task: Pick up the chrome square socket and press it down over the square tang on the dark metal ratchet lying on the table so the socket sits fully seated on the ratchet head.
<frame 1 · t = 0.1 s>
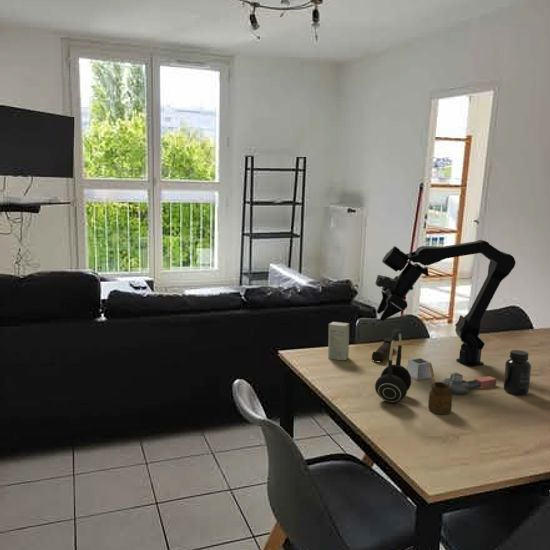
hand: (379, 316, 177), 15 cm above the table, tool tilted 35°, fingers open, 9 cm apart
socket: (418, 376, 164), on the table
supplement bottle: (515, 391, 153), on the table
ratchet: (455, 390, 153), on the table
utensil holder: (438, 410, 139), on the table
headphones: (392, 398, 146), on the table
skincare box: (337, 358, 179), on the table
hand tool: (382, 355, 184), on the table
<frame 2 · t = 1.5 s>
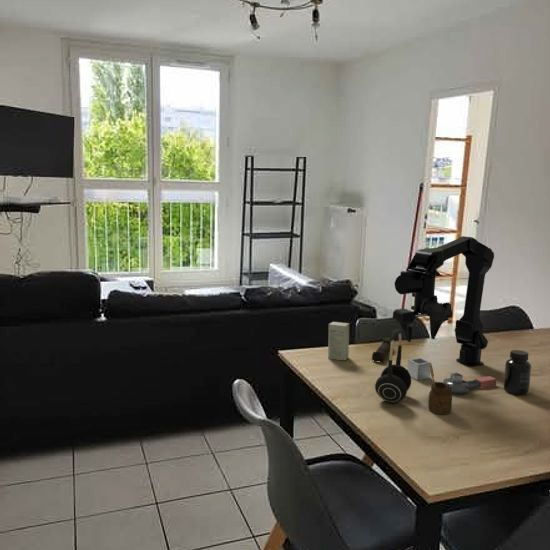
hand: (420, 340, 162), 12 cm above the table, tool pointing down, fingers open, 9 cm apart
nothing on the table moved.
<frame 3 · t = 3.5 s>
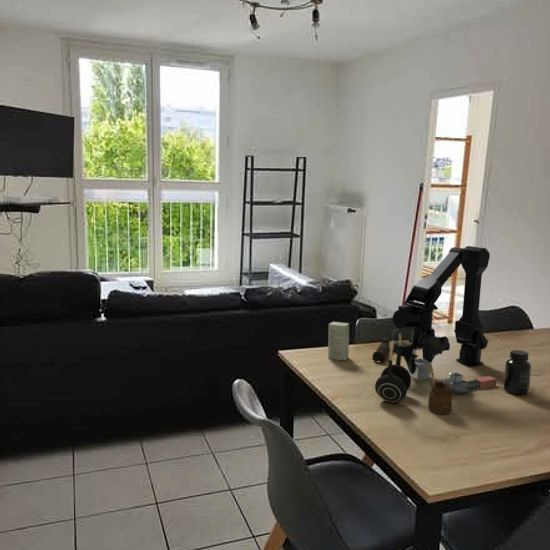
hand: (418, 372, 163), 1 cm above the table, tool pointing down, fingers closed on socket, 5 cm apart
socket: (418, 376, 164), on the table, touching gripper
everything else where it was.
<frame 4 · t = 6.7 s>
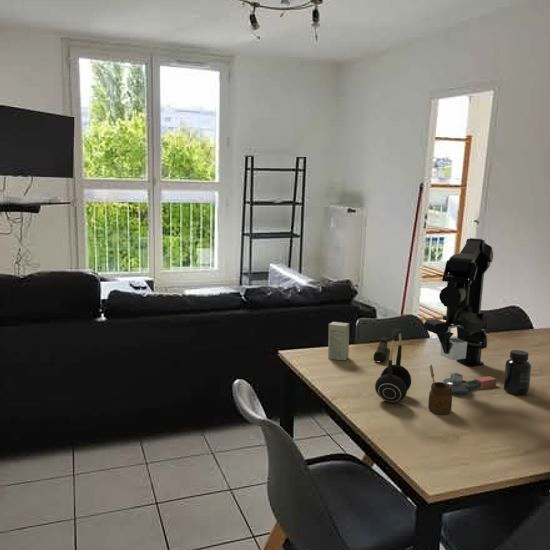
hand: (453, 352, 152), 11 cm above the table, tool pointing down, fingers closed on socket, 5 cm apart
socket: (452, 356, 153), point 10 cm above the table, touching gripper
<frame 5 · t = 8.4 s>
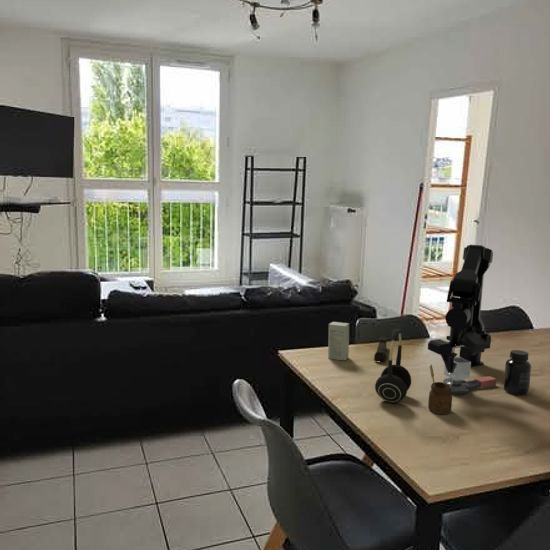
hand: (457, 372, 152), 6 cm above the table, tool pointing down, fingers closed on socket, 5 cm apart
socket: (456, 376, 152), point 4 cm above the table, touching gripper
when the fingers open (4 cm above the table, at t = 9.8 s): socket stays where it is, resting on ratchet.
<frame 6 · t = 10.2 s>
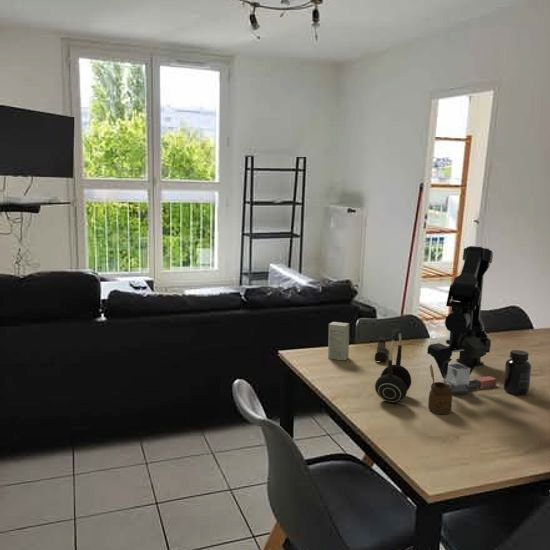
hand: (456, 376, 152), 4 cm above the table, tool pointing down, fingers open, 9 cm apart
socket: (456, 382, 153), point 2 cm above the table, touching ratchet
ratchet: (455, 390, 153), on the table, touching socket
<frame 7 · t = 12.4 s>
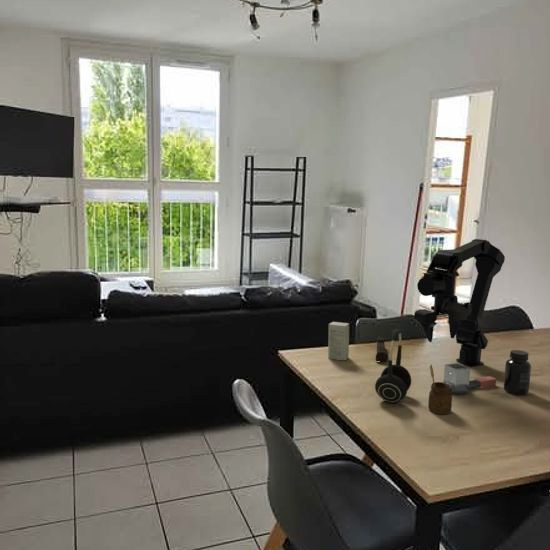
hand: (441, 339, 164), 11 cm above the table, tool pointing down, fingers open, 9 cm apart
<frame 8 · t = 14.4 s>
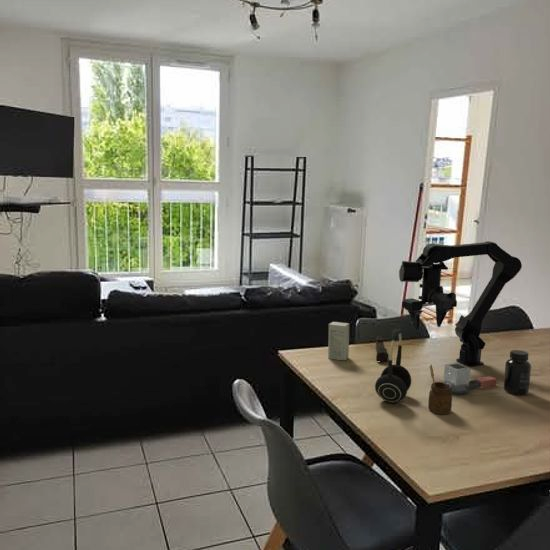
hand: (427, 327, 175), 12 cm above the table, tool pointing down, fingers open, 9 cm apart
at the end: socket 0.0 cm off-centre on the ratchet, point 2.4 cm above the ratchet's base; socket tilted 0°; the gripper is holding nothing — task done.
